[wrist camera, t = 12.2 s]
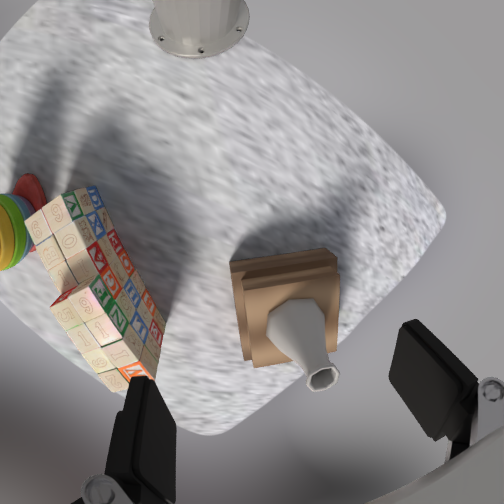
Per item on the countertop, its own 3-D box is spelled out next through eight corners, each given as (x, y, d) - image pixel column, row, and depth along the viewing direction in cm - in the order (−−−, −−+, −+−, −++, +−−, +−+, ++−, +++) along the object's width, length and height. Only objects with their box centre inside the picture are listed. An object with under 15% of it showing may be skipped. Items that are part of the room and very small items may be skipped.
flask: (318, 287, 32) (357, 335, 22) (327, 336, 34) (361, 388, 24) (257, 308, 31) (276, 366, 22) (273, 356, 34) (292, 415, 24)
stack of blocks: (60, 206, 31) (7, 226, 20) (96, 184, 31) (46, 196, 20) (132, 337, 38) (112, 394, 27) (167, 324, 38) (155, 382, 27)
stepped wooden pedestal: (229, 261, 37) (233, 283, 30) (325, 247, 38) (347, 265, 31) (241, 344, 41) (246, 375, 34) (325, 328, 42) (342, 354, 35)
